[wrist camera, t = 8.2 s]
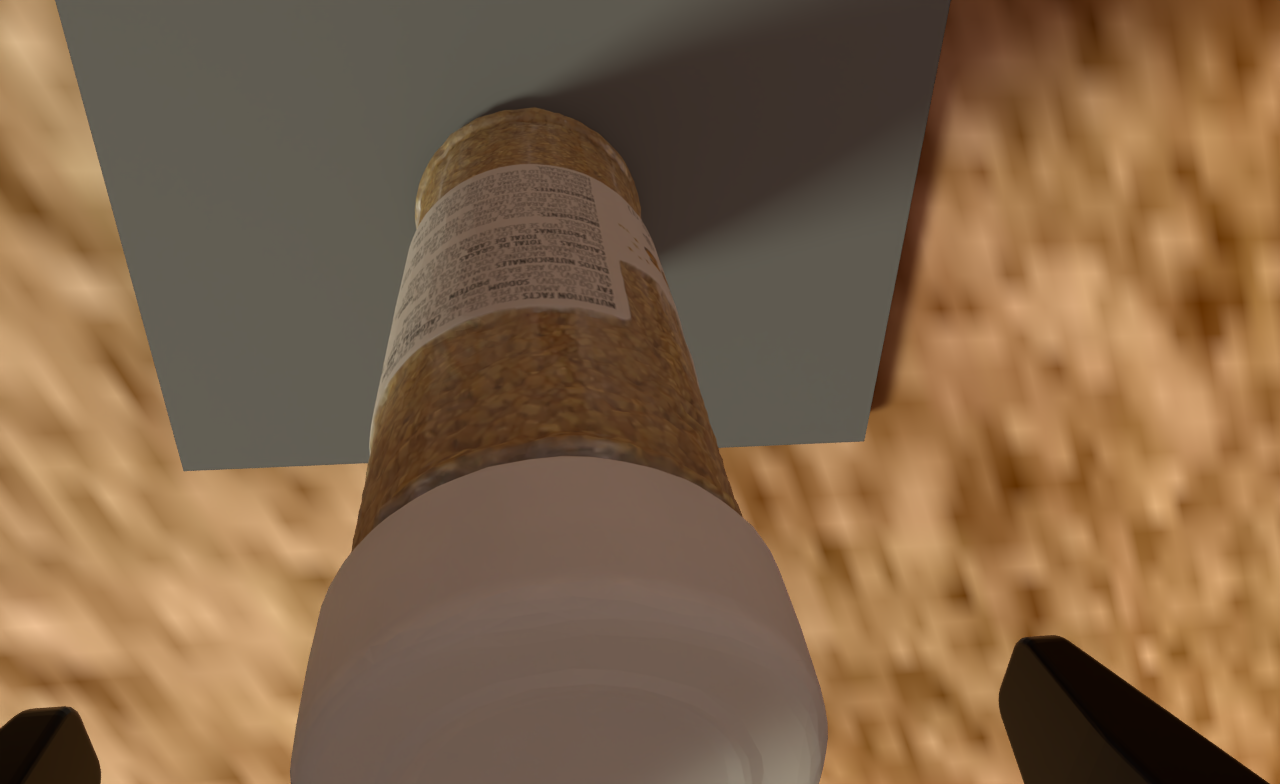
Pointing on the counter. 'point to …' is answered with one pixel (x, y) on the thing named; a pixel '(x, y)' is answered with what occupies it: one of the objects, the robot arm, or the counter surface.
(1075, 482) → the counter surface
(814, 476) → the counter surface
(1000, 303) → the counter surface
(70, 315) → the counter surface
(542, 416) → the sprinkles bottle
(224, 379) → the gray tray
